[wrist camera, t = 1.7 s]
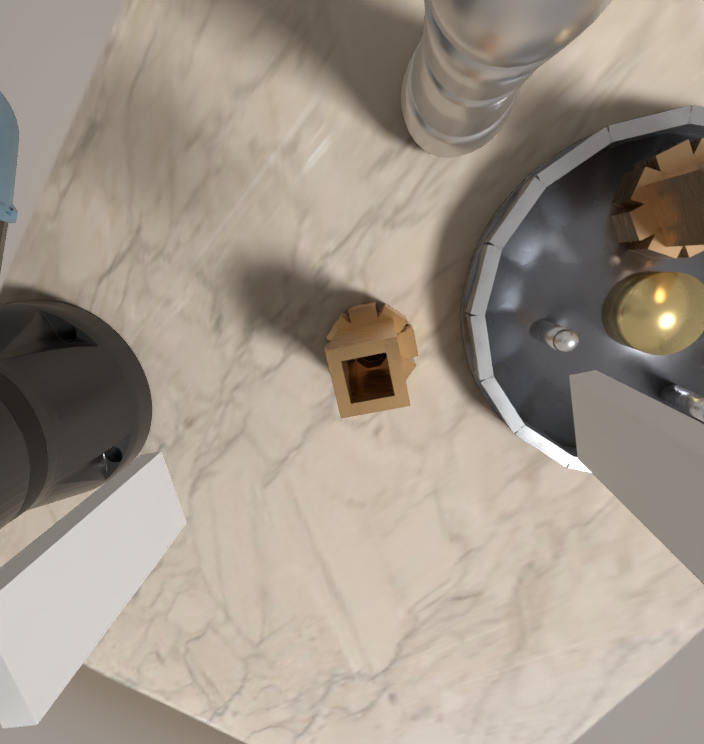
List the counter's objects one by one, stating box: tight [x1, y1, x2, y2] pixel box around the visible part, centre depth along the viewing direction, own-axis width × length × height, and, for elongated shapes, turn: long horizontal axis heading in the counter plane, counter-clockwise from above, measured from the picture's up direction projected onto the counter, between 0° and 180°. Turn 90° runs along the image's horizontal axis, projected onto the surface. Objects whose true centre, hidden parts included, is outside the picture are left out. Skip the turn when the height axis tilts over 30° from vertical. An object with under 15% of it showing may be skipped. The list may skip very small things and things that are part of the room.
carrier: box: [461, 105, 704, 472], centre depth 26 cm, size 23×23×6 cm
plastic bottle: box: [401, 0, 612, 158], centre depth 17 cm, size 6×7×20 cm
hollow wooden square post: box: [324, 302, 418, 418], centre depth 27 cm, size 6×6×9 cm
